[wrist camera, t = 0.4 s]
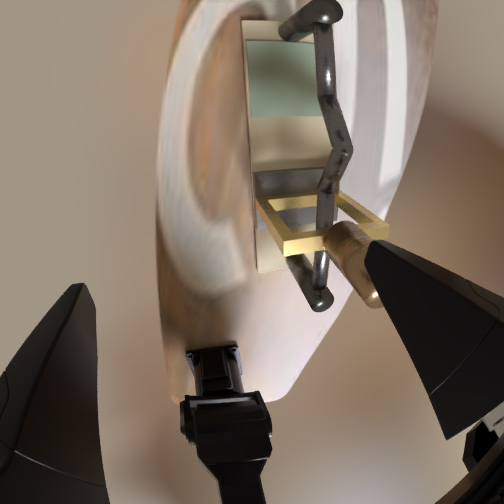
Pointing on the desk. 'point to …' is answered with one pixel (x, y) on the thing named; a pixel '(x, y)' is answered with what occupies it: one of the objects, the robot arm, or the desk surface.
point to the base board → (281, 116)
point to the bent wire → (320, 25)
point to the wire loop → (304, 212)
